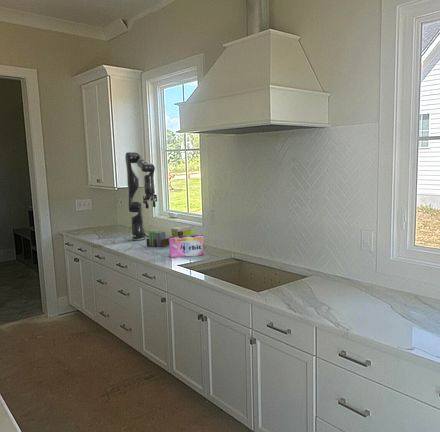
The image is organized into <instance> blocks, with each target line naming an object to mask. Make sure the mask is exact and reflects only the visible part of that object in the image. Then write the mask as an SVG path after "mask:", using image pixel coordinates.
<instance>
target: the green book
mask: <svg viewBox="0 0 440 432" xmlns="http://www.w3.org/2000/svg"><path fill="white" fill-rule="evenodd" d="M154 230H155V229H151V230H148V236H149V237H148V238H149V246H152V238H151V231H154Z"/></svg>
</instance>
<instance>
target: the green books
mask: <svg viewBox="0 0 440 432" xmlns="http://www.w3.org/2000/svg"><path fill="white" fill-rule="evenodd" d="M153 230H154V231H151V230H150V231H151V238H152V246H154V239H156V233H157V232H161V230H160V229H153Z"/></svg>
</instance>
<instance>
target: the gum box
mask: <svg viewBox="0 0 440 432" xmlns="http://www.w3.org/2000/svg"><path fill="white" fill-rule="evenodd" d="M168 238H169V257H170V258H180V257H182V258H183V257H197V256H203V255H204V254H203V253H204V252H203V248H204V243H203V242H204V240H205V238H204V236H203V234H194V235H192V236H176V237H172V236H169V237H168Z"/></svg>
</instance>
